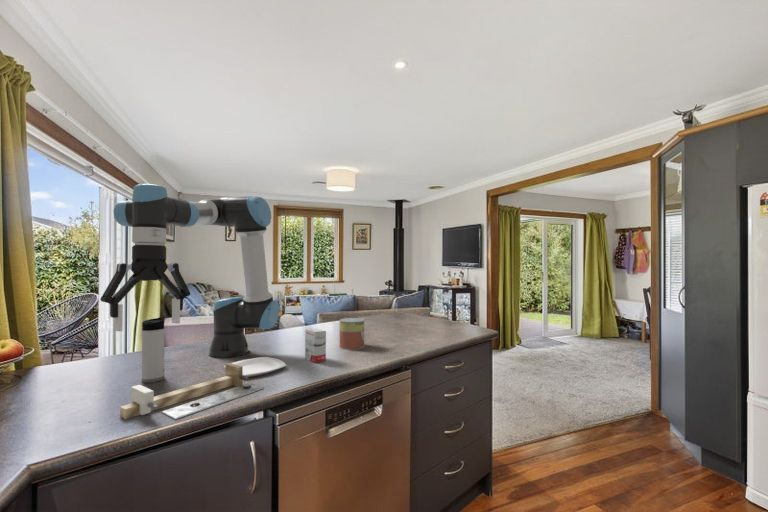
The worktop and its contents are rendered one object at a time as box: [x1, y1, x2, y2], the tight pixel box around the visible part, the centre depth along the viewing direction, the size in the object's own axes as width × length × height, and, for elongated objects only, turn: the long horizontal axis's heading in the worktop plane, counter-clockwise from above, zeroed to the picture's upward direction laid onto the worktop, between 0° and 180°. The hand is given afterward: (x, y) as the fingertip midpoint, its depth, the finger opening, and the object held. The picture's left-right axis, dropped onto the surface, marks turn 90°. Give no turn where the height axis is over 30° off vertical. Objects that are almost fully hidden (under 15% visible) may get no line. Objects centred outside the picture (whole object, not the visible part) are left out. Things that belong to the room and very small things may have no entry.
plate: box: [223, 356, 287, 378], centre depth 131 cm, size 19×19×2 cm
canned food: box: [339, 317, 365, 351], centre depth 164 cm, size 11×11×12 cm
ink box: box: [304, 327, 327, 364], centre depth 143 cm, size 8×5×12 cm, turn 39°
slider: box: [130, 384, 159, 416], centre depth 93 cm, size 2×12×6 cm, turn 55°
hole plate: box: [161, 382, 265, 420], centre depth 103 cm, size 7×26×1 cm, turn 145°
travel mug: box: [141, 316, 165, 384], centre depth 120 cm, size 6×7×20 cm
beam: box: [119, 362, 249, 420], centre depth 103 cm, size 32×10×6 cm, turn 145°
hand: (148, 326), depth 95 cm, fingers open, 13 cm apart
